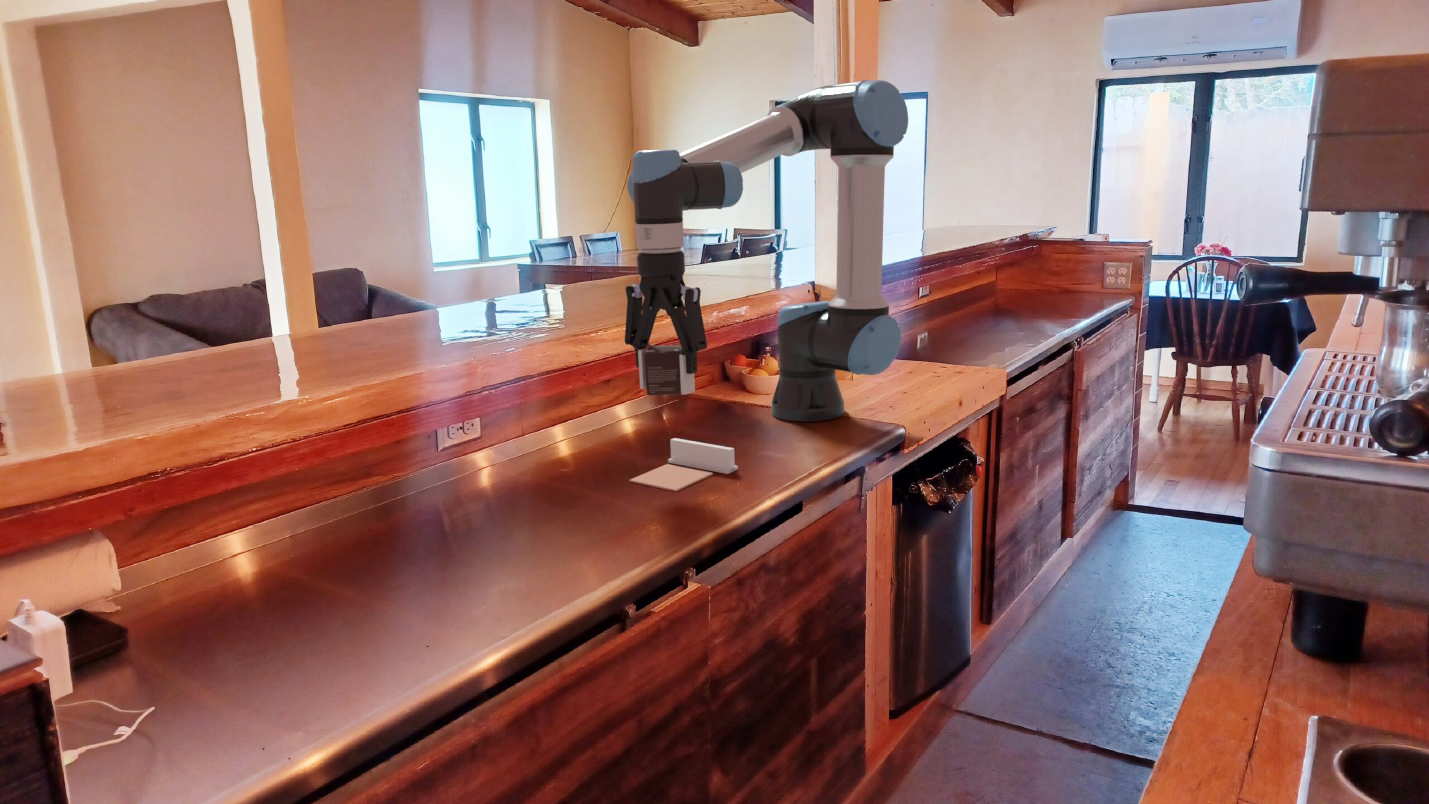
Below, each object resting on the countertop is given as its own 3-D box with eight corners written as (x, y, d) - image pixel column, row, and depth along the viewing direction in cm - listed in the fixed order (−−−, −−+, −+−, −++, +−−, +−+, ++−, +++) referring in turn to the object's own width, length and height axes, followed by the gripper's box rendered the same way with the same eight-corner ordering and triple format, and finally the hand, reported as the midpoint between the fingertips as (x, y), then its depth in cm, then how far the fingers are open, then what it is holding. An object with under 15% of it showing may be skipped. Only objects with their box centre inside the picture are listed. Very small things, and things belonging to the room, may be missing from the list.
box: (688, 387, 158) (686, 344, 156) (683, 395, 152) (681, 351, 150) (652, 388, 158) (649, 344, 157) (645, 396, 153) (643, 351, 151)
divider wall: (678, 458, 170) (677, 436, 169) (737, 469, 162) (737, 446, 161) (668, 462, 167) (666, 440, 166) (727, 474, 160) (726, 451, 159)
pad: (667, 465, 166) (667, 464, 165) (713, 474, 160) (712, 472, 160) (629, 481, 158) (629, 479, 158) (676, 491, 152) (676, 489, 152)
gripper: (596, 251, 153) (604, 388, 158) (698, 253, 141) (704, 402, 146) (626, 247, 159) (634, 379, 164) (727, 249, 147) (732, 392, 152)
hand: (667, 389), depth 155 cm, fingers closed on box, 8 cm apart
